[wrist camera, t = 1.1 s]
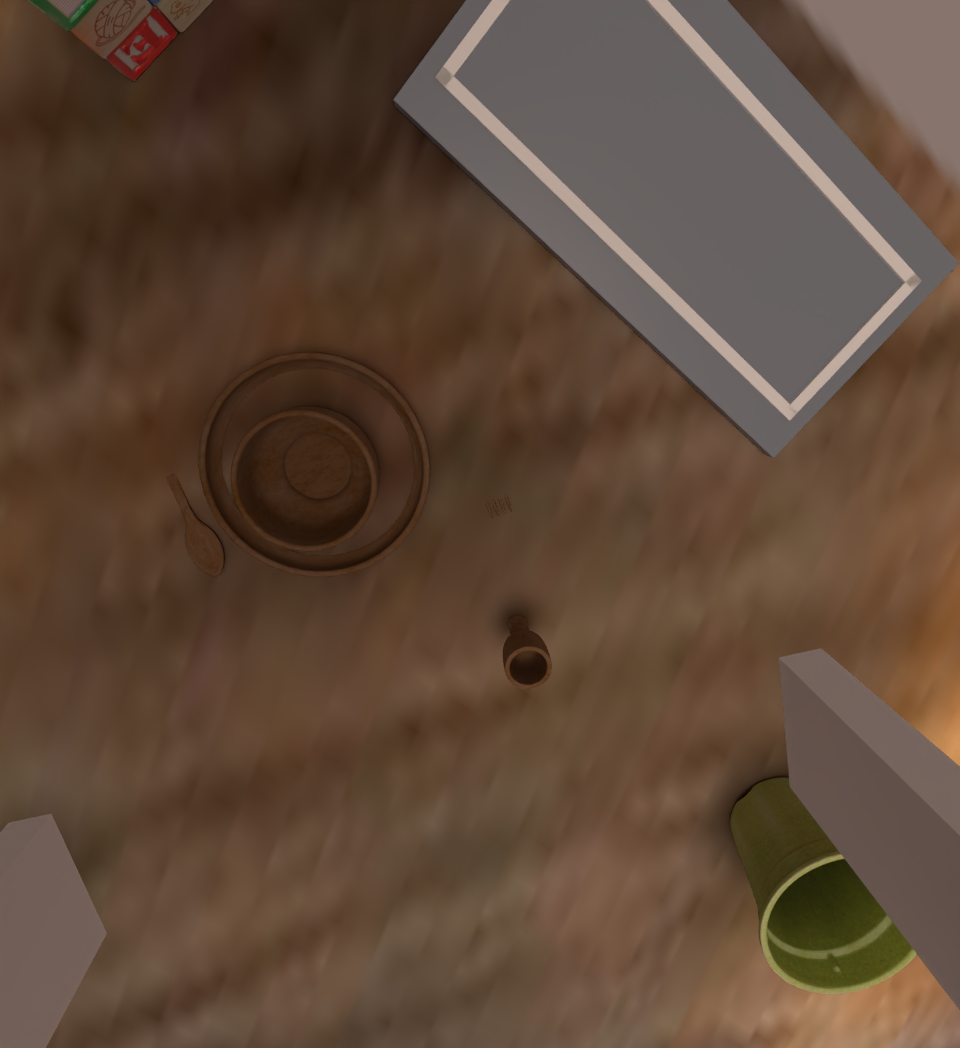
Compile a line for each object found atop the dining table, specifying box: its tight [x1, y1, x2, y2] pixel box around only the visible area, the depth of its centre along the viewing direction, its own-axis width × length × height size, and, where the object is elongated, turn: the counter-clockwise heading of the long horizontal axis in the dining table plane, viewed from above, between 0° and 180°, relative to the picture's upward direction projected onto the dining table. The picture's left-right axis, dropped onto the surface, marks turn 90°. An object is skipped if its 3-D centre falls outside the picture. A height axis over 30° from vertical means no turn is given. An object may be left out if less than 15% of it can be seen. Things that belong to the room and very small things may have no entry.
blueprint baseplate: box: [393, 0, 959, 458], centre depth 34 cm, size 26×13×1 cm, turn 50°
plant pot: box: [730, 778, 917, 994], centre depth 41 cm, size 9×9×9 cm
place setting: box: [166, 353, 552, 689], centre depth 36 cm, size 18×20×6 cm
